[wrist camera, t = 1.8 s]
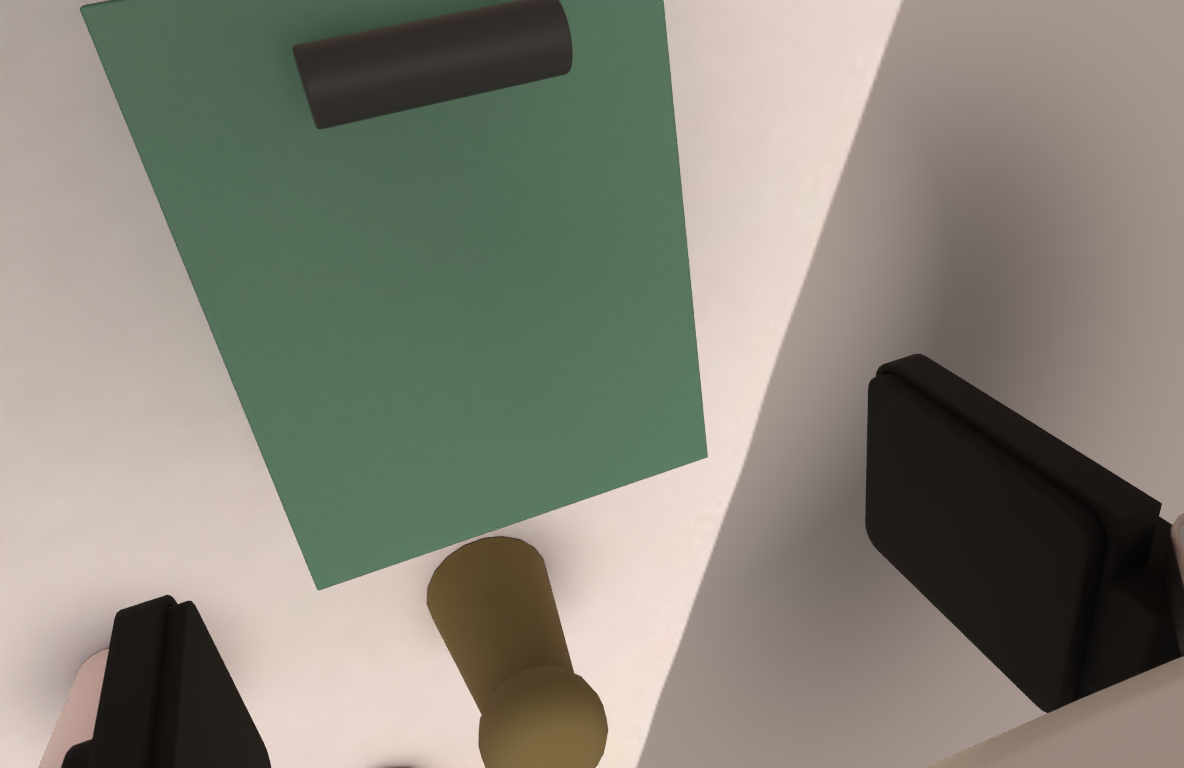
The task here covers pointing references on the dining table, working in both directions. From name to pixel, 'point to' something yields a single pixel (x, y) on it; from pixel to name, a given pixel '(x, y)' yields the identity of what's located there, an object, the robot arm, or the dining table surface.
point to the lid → (425, 249)
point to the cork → (515, 658)
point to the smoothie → (77, 711)
